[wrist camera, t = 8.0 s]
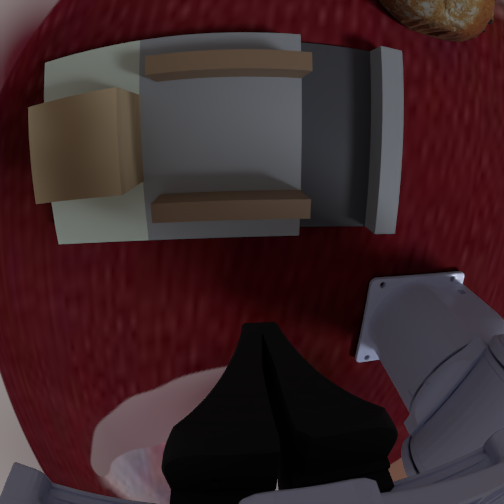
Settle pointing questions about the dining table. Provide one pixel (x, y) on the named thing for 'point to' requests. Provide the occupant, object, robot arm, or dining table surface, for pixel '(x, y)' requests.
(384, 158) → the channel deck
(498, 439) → the robot arm
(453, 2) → the bread roll
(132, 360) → the dining table surface
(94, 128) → the wooden block
